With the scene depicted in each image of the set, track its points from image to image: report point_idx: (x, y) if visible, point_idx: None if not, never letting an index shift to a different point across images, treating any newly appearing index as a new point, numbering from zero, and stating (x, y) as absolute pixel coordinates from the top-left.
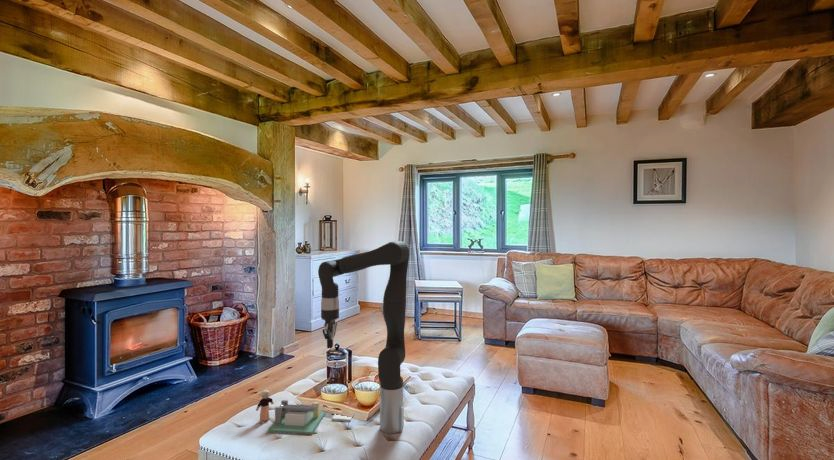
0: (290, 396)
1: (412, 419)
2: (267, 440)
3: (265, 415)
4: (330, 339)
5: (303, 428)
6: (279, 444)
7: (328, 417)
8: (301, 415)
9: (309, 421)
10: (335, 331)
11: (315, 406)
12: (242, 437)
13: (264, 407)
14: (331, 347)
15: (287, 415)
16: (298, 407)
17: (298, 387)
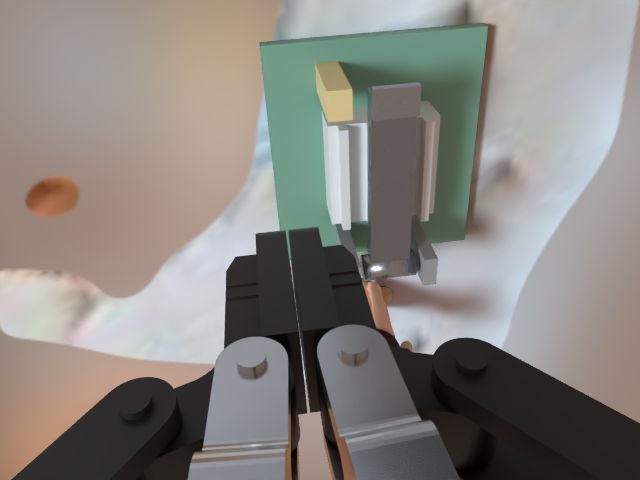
0: (122, 309)
1: None
2: (524, 201)
3: (383, 302)
4: (392, 350)
5: (453, 89)
6: (559, 138)
7: (292, 6)
8: (433, 136)
9: None
10: (38, 471)
11: (398, 85)
12: (498, 295)
13: (389, 331)
14: (319, 235)
15: (427, 206)
16: (402, 182)
17: (7, 324)
